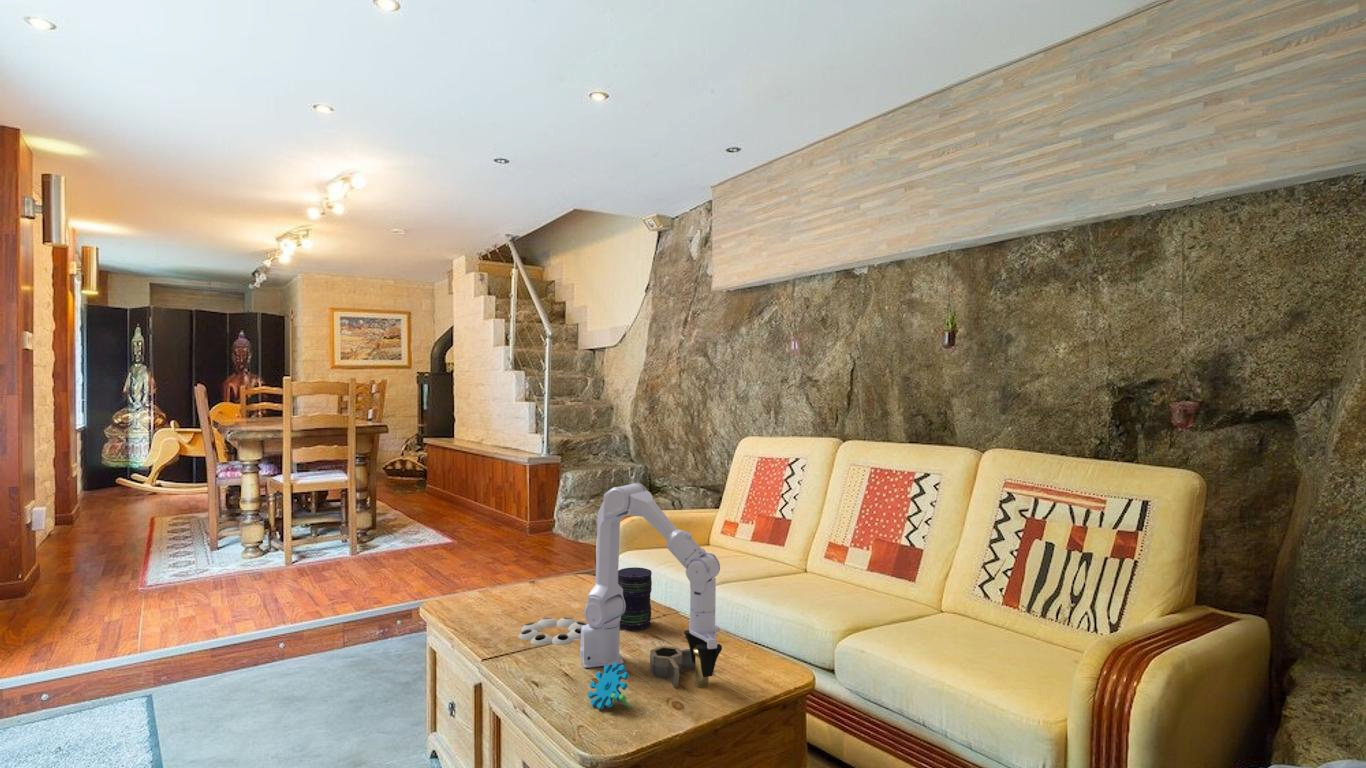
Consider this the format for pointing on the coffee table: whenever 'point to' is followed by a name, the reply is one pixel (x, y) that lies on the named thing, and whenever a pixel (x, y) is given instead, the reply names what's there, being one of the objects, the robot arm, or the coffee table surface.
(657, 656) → the hinge
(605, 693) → the gear
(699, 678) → the hinge pin
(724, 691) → the coffee table surface
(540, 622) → the ring
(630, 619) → the storage jar
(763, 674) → the coffee table surface
